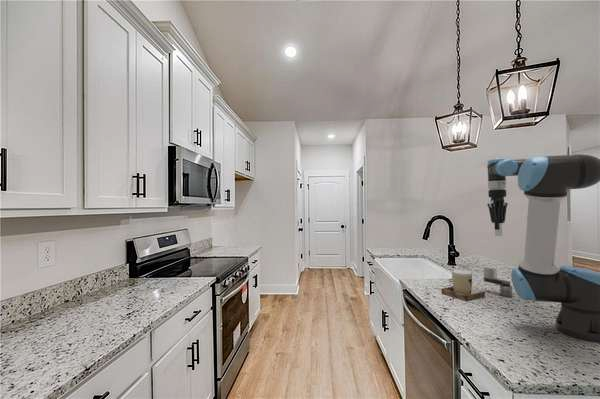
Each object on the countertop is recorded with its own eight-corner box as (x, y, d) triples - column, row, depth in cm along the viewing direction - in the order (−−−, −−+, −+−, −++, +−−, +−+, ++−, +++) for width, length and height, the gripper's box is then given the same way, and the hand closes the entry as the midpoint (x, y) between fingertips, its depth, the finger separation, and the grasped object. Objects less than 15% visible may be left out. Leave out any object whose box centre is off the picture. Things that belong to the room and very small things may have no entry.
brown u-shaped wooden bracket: (485, 296, 146) (484, 291, 146) (466, 301, 140) (466, 296, 140) (459, 289, 158) (459, 284, 158) (441, 293, 152) (441, 288, 152)
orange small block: (479, 288, 160) (479, 287, 160) (478, 288, 159) (478, 288, 159) (474, 287, 162) (474, 286, 162) (473, 287, 161) (473, 286, 161)
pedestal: (514, 296, 145) (514, 286, 145) (508, 297, 143) (508, 287, 143) (504, 293, 150) (503, 283, 150) (498, 295, 148) (497, 285, 148)
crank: (511, 285, 146) (511, 271, 146) (507, 286, 144) (507, 272, 144) (487, 280, 156) (487, 266, 156) (483, 281, 154) (483, 267, 155)
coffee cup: (475, 298, 143) (474, 274, 143) (453, 297, 146) (453, 273, 146) (470, 293, 152) (470, 270, 152) (450, 291, 155) (450, 269, 155)
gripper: (496, 189, 141) (498, 237, 140) (512, 189, 146) (514, 235, 146) (481, 189, 147) (483, 236, 147) (497, 189, 153) (498, 234, 153)
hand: (498, 235), depth 146 cm, fingers closed
